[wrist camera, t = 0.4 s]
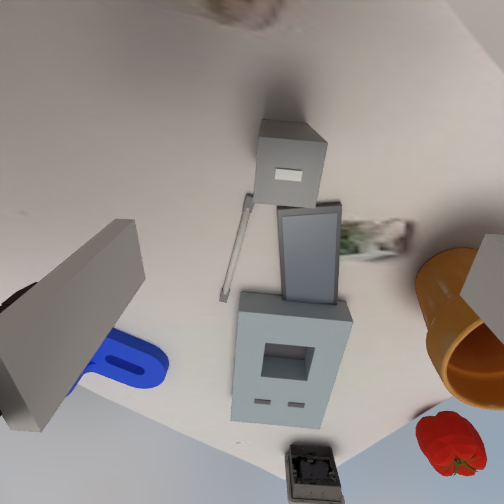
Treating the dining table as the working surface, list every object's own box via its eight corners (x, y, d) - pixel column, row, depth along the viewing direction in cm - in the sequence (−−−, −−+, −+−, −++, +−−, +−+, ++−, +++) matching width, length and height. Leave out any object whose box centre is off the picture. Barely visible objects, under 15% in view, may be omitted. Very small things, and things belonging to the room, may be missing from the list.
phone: (282, 304, 41) (283, 309, 40) (277, 206, 34) (277, 210, 33) (335, 302, 40) (337, 307, 39) (340, 202, 34) (342, 205, 33)
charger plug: (257, 165, 32) (252, 203, 22) (261, 119, 30) (258, 137, 19) (300, 168, 32) (315, 209, 22) (307, 123, 30) (328, 143, 19)
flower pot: (434, 338, 43) (494, 429, 31) (368, 281, 39) (410, 363, 27) (536, 275, 37) (655, 359, 26) (472, 201, 33) (579, 262, 22)
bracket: (49, 341, 47) (5, 392, 39) (61, 305, 43) (15, 354, 35) (158, 384, 50) (137, 439, 43) (177, 353, 47) (158, 408, 39)
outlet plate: (233, 397, 51) (230, 422, 47) (241, 291, 40) (238, 312, 37) (316, 405, 51) (319, 430, 47) (345, 301, 40) (353, 323, 37)
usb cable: (227, 299, 41) (226, 303, 40) (219, 297, 41) (219, 301, 40) (255, 196, 34) (255, 198, 33) (246, 193, 34) (246, 196, 33)
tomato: (402, 413, 51) (422, 461, 44) (457, 396, 48) (487, 445, 42) (421, 441, 54) (442, 490, 48) (473, 427, 52) (503, 477, 45)
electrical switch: (283, 455, 59) (287, 512, 50) (286, 437, 57) (289, 493, 48) (332, 458, 58) (344, 515, 50) (336, 440, 56) (349, 497, 48)
